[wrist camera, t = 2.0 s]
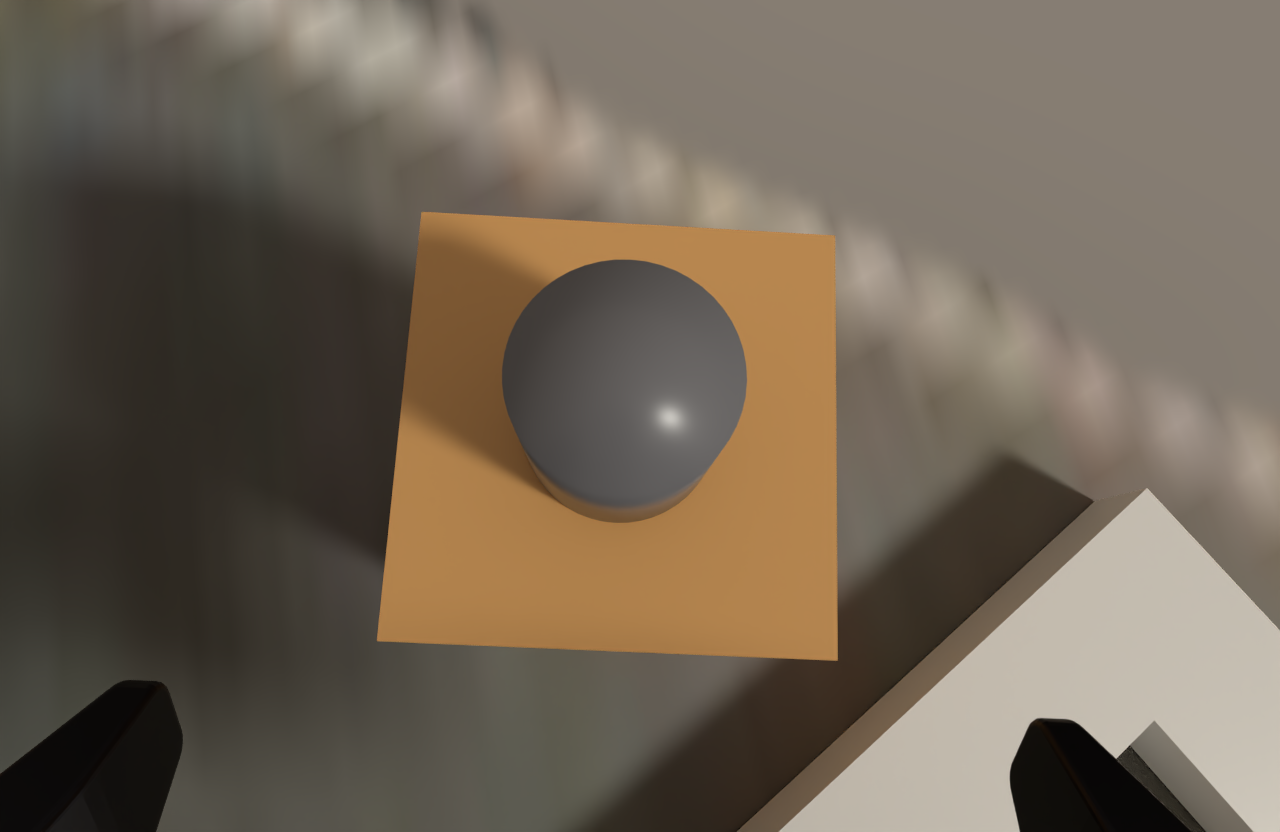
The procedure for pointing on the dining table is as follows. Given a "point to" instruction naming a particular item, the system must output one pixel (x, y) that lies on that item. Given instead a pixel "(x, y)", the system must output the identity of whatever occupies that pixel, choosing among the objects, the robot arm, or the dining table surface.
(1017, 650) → the socket plate
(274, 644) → the dining table surface
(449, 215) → the plug
